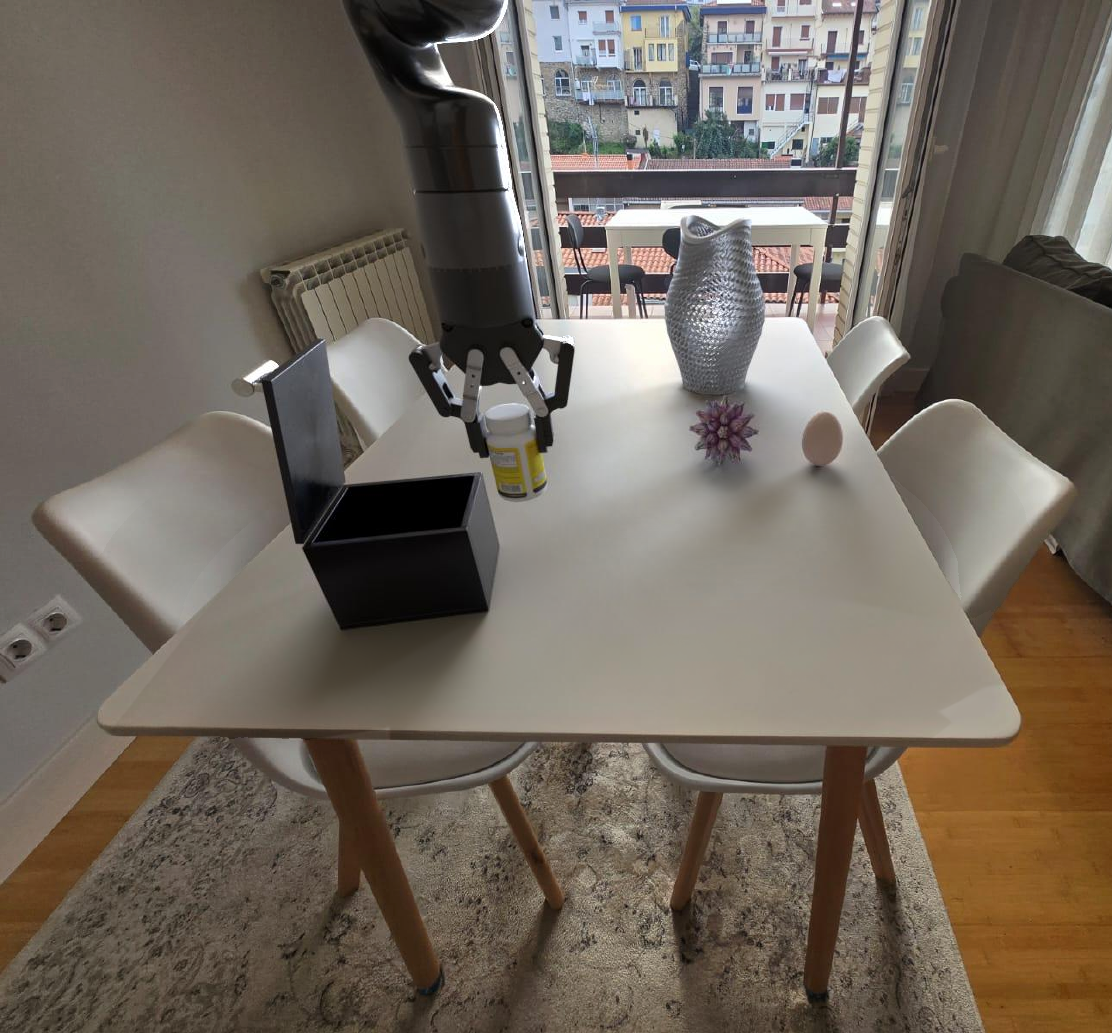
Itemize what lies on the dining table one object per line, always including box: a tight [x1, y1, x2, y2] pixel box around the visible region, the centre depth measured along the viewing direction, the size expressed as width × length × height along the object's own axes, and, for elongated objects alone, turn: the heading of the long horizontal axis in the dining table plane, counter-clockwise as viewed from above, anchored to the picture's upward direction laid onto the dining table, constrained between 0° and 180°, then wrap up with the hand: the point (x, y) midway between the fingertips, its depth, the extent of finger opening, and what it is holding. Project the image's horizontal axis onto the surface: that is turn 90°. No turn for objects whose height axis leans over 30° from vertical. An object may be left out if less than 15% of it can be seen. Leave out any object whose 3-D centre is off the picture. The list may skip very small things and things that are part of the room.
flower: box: [688, 395, 760, 466], centre depth 97 cm, size 12×12×12 cm
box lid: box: [230, 338, 347, 545], centre depth 59 cm, size 18×14×5 cm
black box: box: [301, 471, 501, 631], centre depth 69 cm, size 17×14×12 cm
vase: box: [663, 214, 766, 395], centre depth 124 cm, size 22×22×35 cm
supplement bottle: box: [484, 402, 548, 503], centre depth 54 cm, size 5×5×8 cm
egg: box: [801, 410, 844, 467], centre depth 96 cm, size 7×7×10 cm
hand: (514, 451), depth 53 cm, fingers closed on supplement bottle, 4 cm apart
